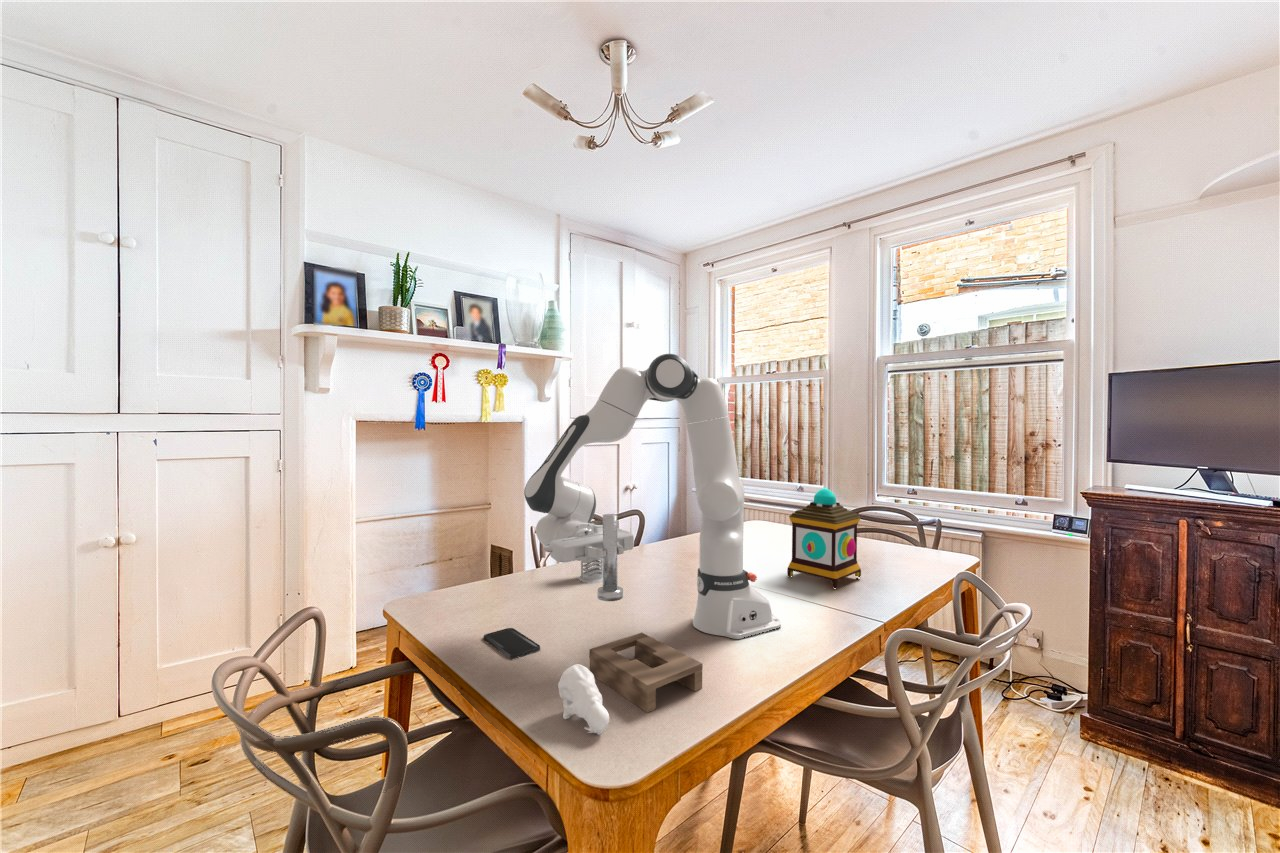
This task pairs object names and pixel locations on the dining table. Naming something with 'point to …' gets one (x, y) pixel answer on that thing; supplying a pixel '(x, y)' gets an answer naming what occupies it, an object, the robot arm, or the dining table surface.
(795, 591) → the dining table surface
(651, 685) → the keyhole board
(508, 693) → the dining table surface
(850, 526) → the decorative lantern
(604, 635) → the dining table surface
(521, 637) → the phone
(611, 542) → the steel peg
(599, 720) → the white lumpy figurine
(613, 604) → the dining table surface
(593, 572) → the french press
